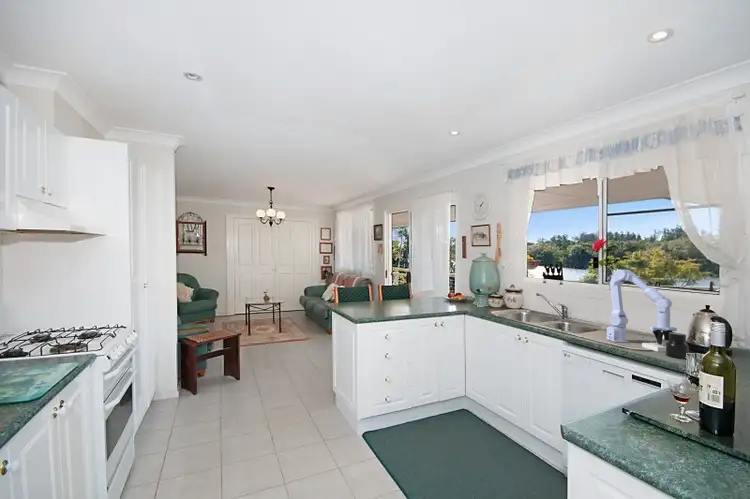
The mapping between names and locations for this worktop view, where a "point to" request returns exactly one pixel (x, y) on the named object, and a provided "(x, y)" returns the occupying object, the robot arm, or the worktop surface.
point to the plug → (663, 343)
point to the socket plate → (654, 347)
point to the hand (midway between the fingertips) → (663, 343)
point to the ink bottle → (677, 346)
